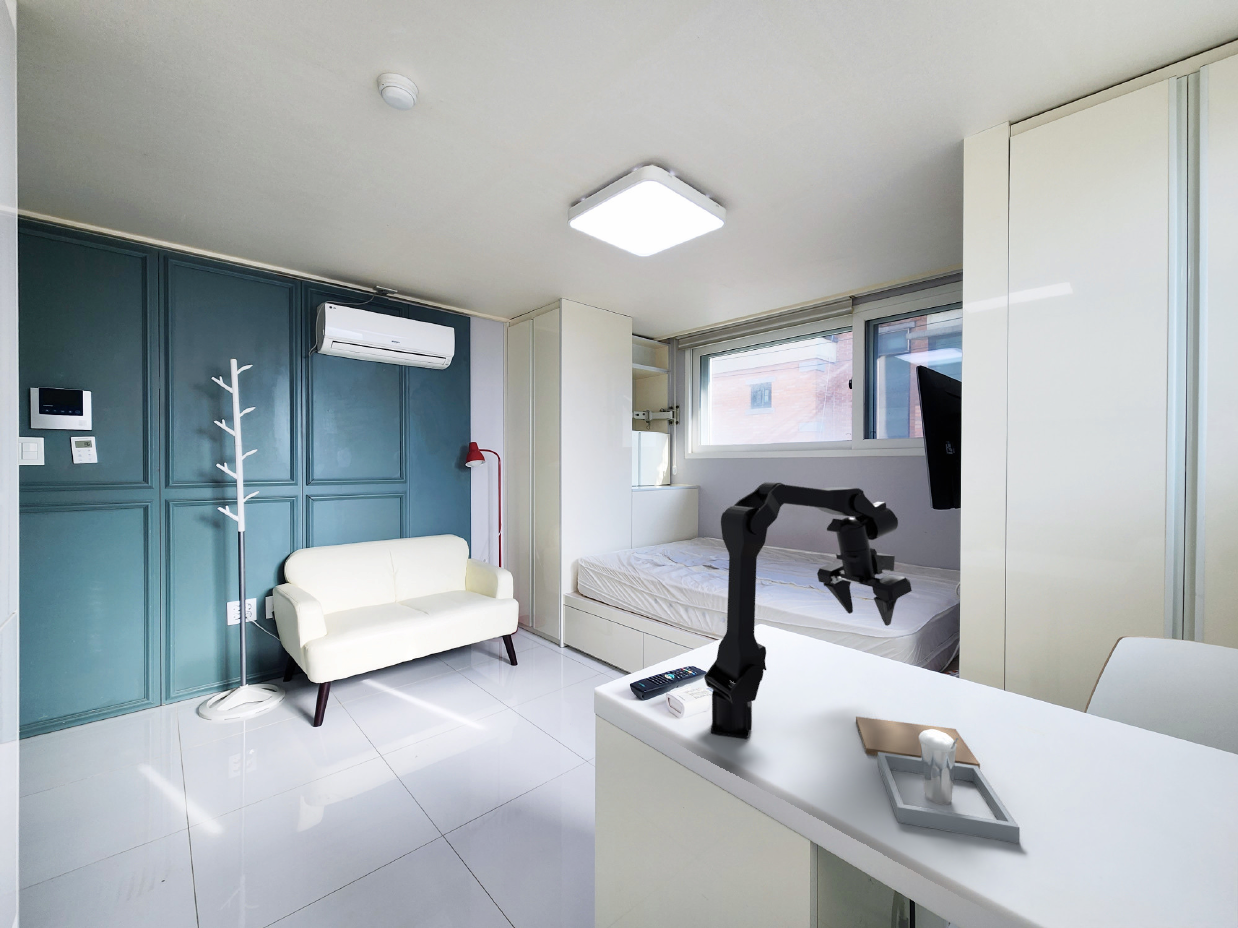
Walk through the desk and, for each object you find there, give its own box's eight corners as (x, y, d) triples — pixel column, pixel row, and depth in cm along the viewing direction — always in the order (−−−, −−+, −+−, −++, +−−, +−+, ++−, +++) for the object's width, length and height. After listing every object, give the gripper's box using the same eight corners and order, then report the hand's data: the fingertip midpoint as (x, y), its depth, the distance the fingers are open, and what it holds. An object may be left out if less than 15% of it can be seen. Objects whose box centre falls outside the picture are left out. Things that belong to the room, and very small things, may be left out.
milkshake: (944, 814, 69) (944, 740, 69) (911, 790, 74) (911, 721, 74) (970, 808, 70) (969, 735, 70) (936, 785, 75) (935, 717, 76)
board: (866, 754, 84) (866, 747, 84) (855, 721, 94) (855, 716, 94) (979, 770, 79) (979, 763, 79) (955, 734, 90) (955, 728, 90)
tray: (898, 821, 68) (898, 806, 68) (877, 764, 81) (877, 751, 81) (1019, 843, 64) (1019, 827, 64) (977, 779, 77) (977, 765, 77)
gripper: (923, 540, 99) (937, 616, 101) (845, 530, 116) (858, 594, 118) (883, 559, 95) (898, 638, 96) (809, 545, 112) (823, 612, 114)
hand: (868, 618), depth 106 cm, fingers open, 9 cm apart
